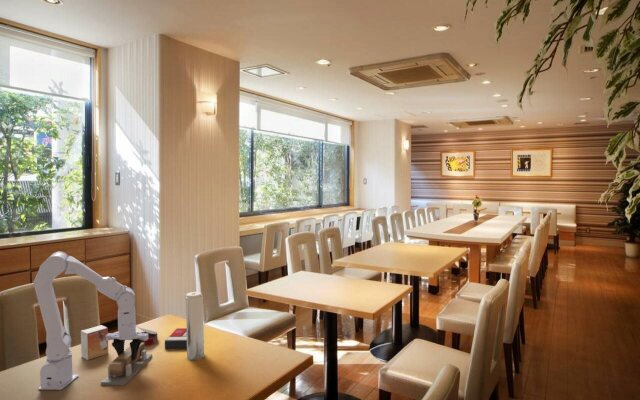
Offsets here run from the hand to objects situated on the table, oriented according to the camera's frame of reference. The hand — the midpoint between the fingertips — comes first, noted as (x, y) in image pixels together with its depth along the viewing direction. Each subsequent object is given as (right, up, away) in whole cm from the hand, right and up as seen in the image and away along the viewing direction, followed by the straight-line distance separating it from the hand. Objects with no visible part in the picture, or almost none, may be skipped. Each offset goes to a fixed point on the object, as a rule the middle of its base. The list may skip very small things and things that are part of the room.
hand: (128, 359), depth 149 cm
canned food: (-5, -3, +25) cm, 26 cm away
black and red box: (+12, -3, +26) cm, 28 cm away
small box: (-19, -4, +13) cm, 23 cm away
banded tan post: (0, -2, 0) cm, 2 cm away
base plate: (0, -4, 0) cm, 4 cm away
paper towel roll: (+21, -3, +11) cm, 24 cm away
